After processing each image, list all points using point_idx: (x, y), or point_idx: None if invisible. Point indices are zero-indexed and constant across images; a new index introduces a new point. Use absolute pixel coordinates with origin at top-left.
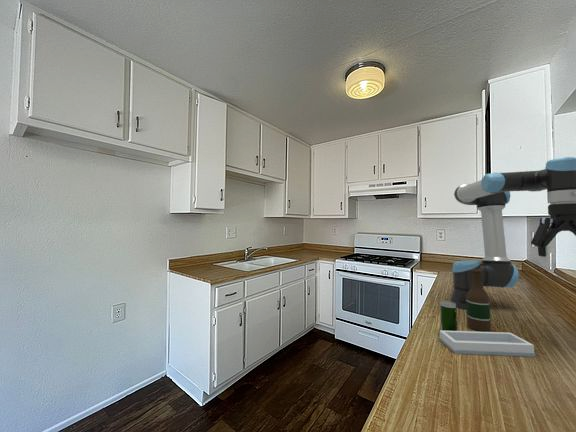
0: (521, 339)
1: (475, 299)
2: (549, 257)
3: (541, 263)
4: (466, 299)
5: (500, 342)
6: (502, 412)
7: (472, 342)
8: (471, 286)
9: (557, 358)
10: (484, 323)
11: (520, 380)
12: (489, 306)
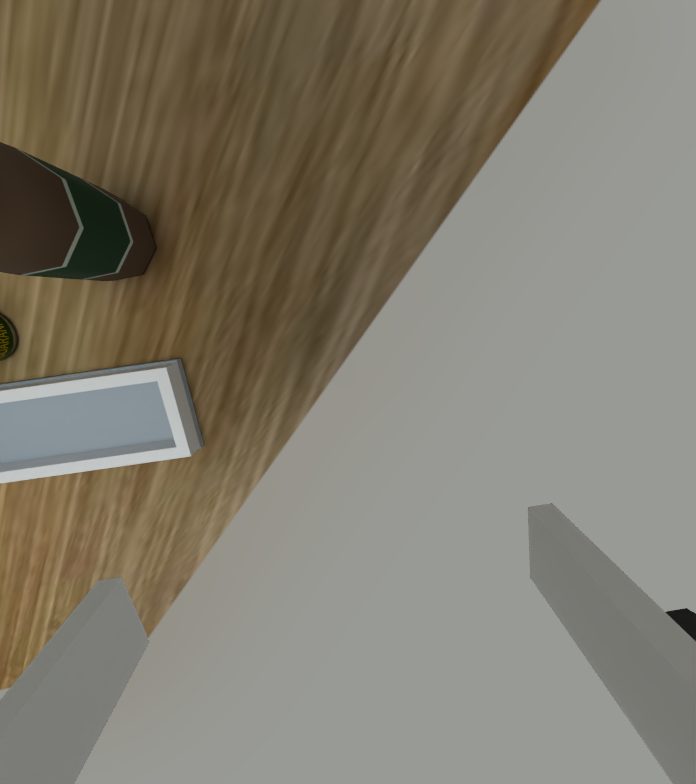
0: (174, 421)
1: None
2: (75, 765)
3: (85, 611)
4: None
5: (99, 459)
6: None
7: (15, 477)
8: None
9: (257, 440)
10: (106, 277)
11: (113, 560)
12: (89, 242)
